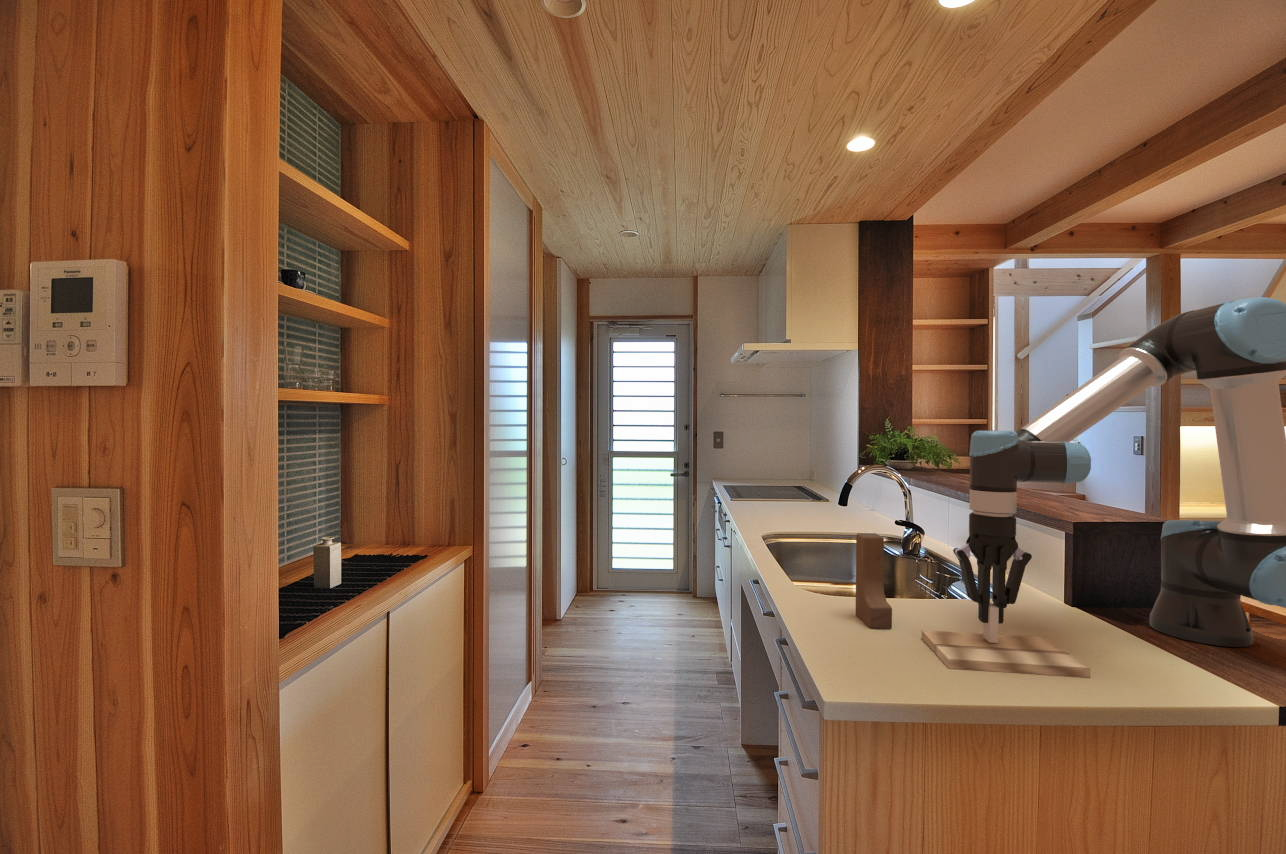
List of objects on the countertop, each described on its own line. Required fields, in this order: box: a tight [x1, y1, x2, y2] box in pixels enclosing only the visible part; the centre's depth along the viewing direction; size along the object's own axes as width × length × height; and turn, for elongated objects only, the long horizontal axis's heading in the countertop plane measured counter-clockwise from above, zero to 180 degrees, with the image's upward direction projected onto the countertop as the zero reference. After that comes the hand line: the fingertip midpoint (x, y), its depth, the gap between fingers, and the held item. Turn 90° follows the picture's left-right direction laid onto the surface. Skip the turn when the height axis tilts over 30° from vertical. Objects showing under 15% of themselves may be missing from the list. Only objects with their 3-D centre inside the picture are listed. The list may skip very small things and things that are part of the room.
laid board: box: [934, 645, 1091, 679], centre depth 101 cm, size 22×6×2 cm, turn 82°
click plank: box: [921, 630, 1067, 653], centre depth 108 cm, size 22×7×2 cm, turn 82°
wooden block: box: [855, 532, 893, 630], centre depth 123 cm, size 9×4×18 cm, turn 179°
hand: (990, 639), depth 108 cm, fingers closed
